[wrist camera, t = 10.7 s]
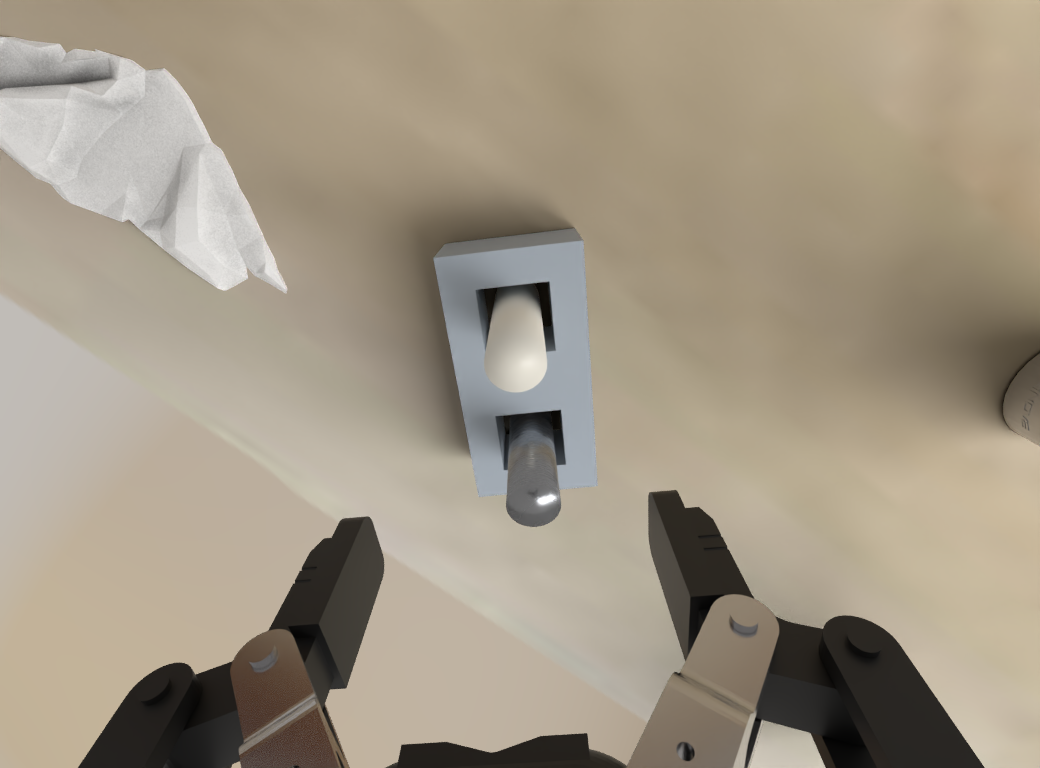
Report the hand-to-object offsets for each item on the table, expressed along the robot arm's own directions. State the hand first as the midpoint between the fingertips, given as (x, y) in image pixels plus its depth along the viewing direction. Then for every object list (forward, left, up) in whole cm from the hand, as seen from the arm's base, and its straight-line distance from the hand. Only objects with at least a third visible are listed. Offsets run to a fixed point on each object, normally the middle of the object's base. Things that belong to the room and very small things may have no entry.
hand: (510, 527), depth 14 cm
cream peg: (0, 0, -24) cm, 24 cm away
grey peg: (0, +9, -24) cm, 25 cm away
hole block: (0, +4, -24) cm, 24 cm away
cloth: (+25, -12, -25) cm, 37 cm away
